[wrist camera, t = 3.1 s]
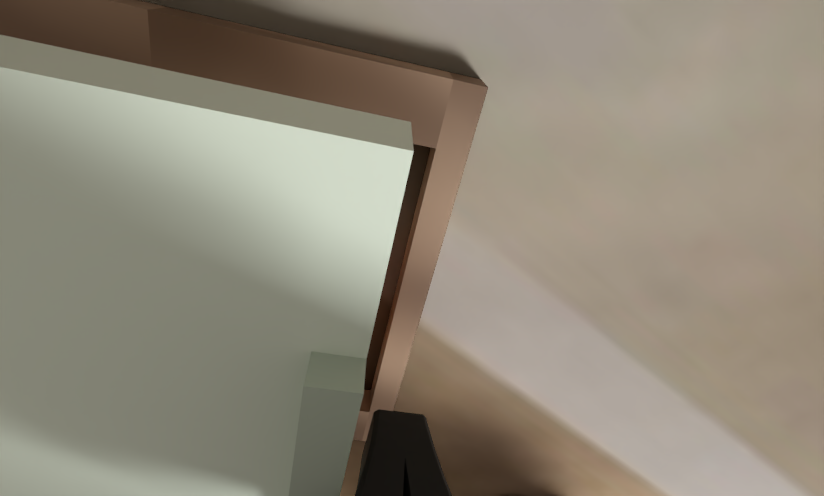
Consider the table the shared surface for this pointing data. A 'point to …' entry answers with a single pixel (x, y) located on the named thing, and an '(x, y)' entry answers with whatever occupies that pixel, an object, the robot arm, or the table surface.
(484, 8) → the table surface
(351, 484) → the table surface
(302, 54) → the brown wooden frame
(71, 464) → the cover
